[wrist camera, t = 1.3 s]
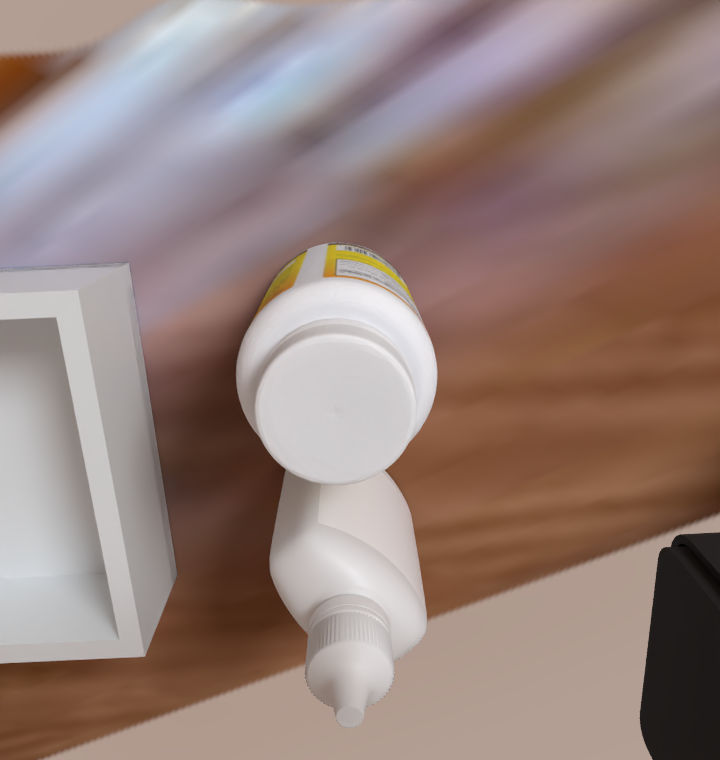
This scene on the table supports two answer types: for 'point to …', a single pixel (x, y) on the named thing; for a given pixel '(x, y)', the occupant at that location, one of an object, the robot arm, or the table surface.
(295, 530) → the eye dropper bottle
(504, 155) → the table surface
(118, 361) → the box
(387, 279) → the supplement bottle
